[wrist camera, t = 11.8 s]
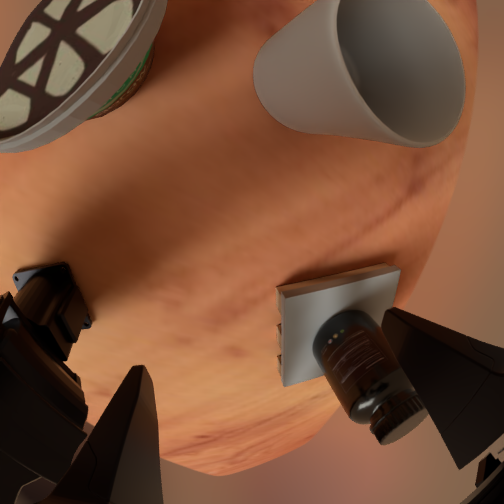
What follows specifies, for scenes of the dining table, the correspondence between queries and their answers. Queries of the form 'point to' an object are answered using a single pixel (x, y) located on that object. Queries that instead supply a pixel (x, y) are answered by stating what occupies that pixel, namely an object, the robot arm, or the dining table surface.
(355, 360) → the supplement bottle
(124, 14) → the food container
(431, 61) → the mug
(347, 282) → the plate
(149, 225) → the dining table surface
